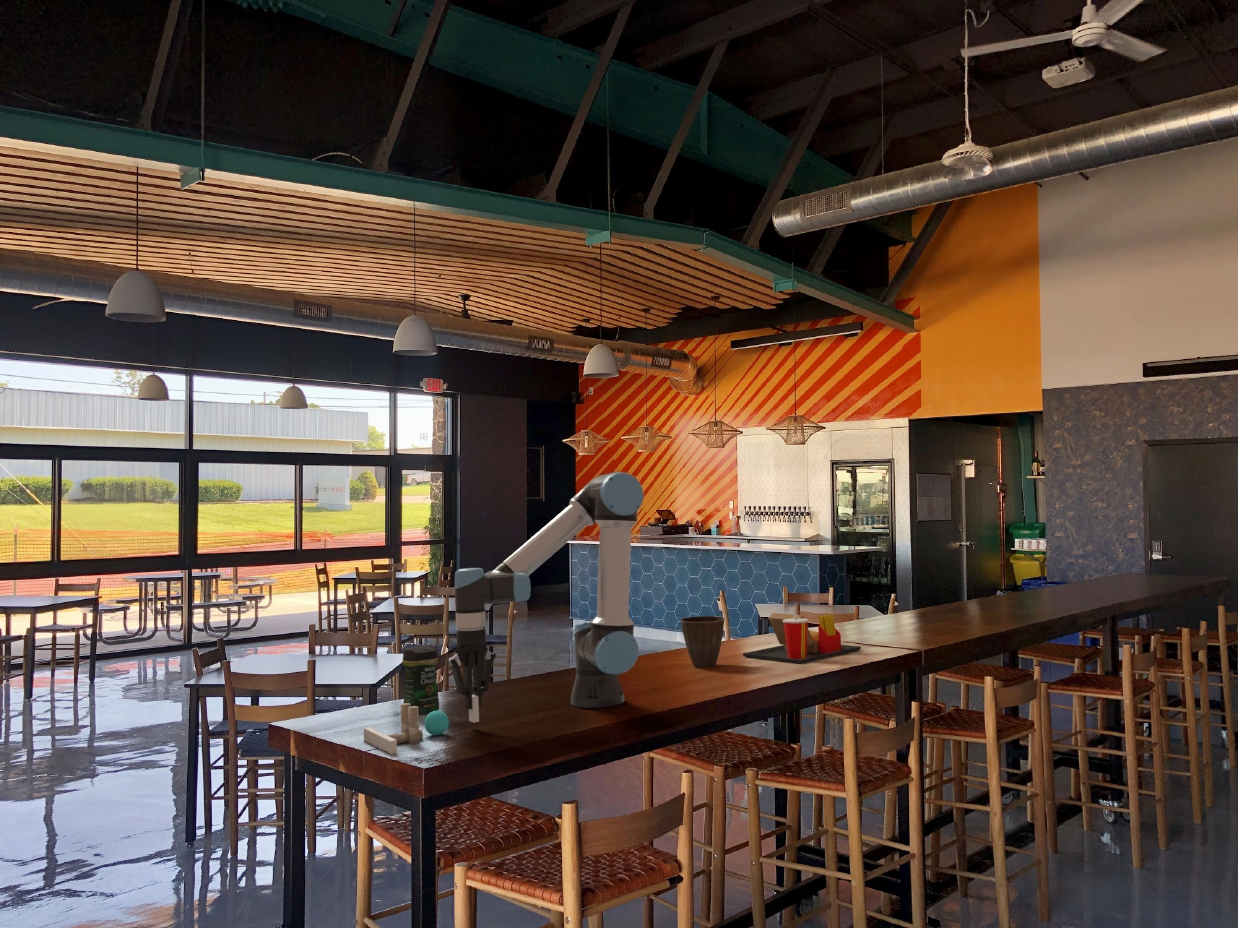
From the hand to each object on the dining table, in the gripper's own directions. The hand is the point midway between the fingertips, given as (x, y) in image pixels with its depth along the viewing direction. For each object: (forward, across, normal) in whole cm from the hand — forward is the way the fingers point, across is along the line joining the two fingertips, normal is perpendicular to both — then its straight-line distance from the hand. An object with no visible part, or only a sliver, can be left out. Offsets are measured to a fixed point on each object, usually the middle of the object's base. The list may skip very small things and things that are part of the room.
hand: (474, 721), depth 237 cm
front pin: (+1, +14, 0) cm, 15 cm away
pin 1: (+2, +17, -2) cm, 18 cm away
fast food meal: (+3, -138, -18) cm, 140 cm away
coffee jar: (+2, +2, -29) cm, 29 cm away
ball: (-1, +10, -1) cm, 10 cm away
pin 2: (+2, +17, +2) cm, 18 cm away
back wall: (+2, +25, 0) cm, 25 cm away
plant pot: (+2, -99, -26) cm, 102 cm away
